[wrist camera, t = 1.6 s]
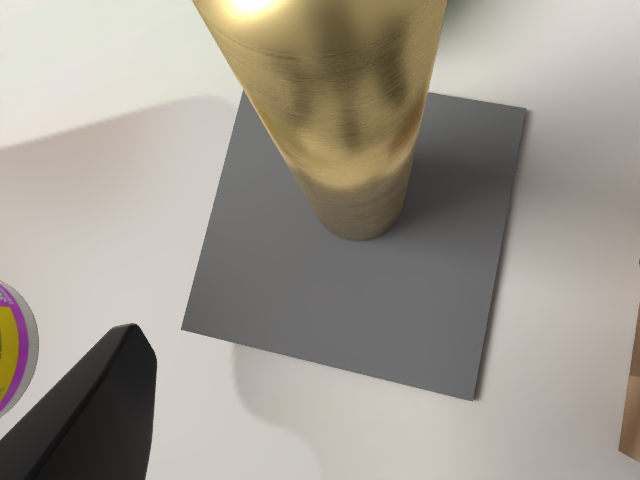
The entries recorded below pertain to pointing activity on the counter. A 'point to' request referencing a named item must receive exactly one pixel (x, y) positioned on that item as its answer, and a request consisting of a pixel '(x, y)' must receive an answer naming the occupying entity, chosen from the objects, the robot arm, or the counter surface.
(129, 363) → the robot arm
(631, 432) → the wooden socket block
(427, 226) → the charcoal mat
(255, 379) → the counter surface
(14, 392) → the supplement bottle
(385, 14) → the brass pin
